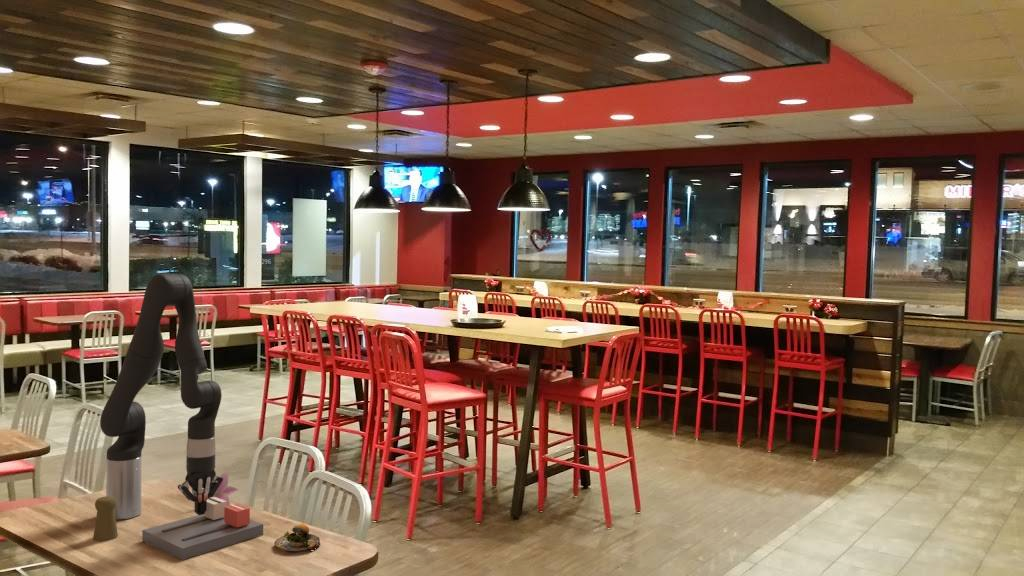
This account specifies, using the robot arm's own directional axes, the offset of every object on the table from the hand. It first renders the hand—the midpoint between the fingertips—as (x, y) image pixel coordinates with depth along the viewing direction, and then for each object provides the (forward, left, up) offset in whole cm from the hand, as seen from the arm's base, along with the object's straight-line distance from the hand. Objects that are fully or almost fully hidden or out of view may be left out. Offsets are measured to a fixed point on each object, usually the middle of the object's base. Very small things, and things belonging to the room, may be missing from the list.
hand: (200, 514), depth 221 cm
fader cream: (0, +4, -2) cm, 5 cm away
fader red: (+10, +5, -2) cm, 11 cm away
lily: (-16, +15, -5) cm, 23 cm away
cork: (-15, -19, -5) cm, 25 cm away
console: (+5, -2, -5) cm, 7 cm away
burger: (+29, +11, -6) cm, 32 cm away
